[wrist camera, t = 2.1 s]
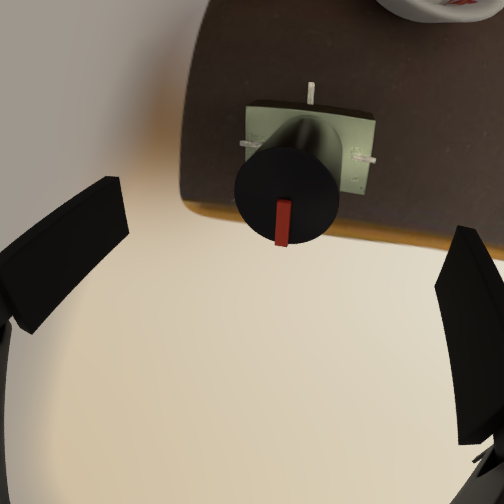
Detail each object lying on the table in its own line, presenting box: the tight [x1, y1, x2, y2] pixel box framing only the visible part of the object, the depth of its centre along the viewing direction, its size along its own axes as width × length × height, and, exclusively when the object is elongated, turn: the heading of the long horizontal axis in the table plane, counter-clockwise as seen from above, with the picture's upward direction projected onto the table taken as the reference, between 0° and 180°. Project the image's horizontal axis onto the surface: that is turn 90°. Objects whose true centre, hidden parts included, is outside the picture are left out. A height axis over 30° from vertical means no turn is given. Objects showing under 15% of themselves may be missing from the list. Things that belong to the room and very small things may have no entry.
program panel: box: [240, 82, 376, 195], centre depth 20 cm, size 9×9×3 cm
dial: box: [234, 116, 343, 247], centre depth 16 cm, size 4×4×8 cm
